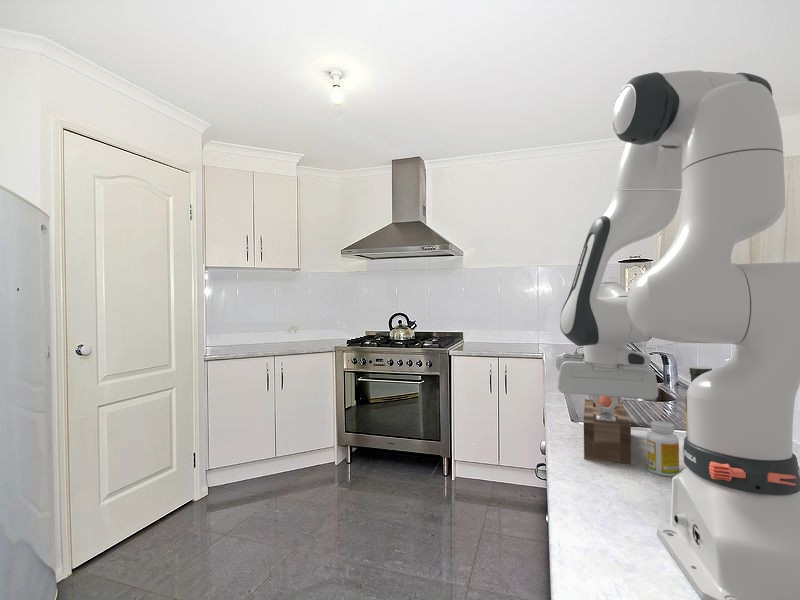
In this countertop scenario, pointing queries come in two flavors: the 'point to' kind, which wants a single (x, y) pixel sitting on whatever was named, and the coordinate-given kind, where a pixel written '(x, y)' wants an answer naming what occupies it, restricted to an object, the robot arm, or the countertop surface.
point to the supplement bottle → (663, 449)
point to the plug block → (607, 435)
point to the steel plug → (605, 418)
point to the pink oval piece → (605, 401)
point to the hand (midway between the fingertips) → (605, 415)
